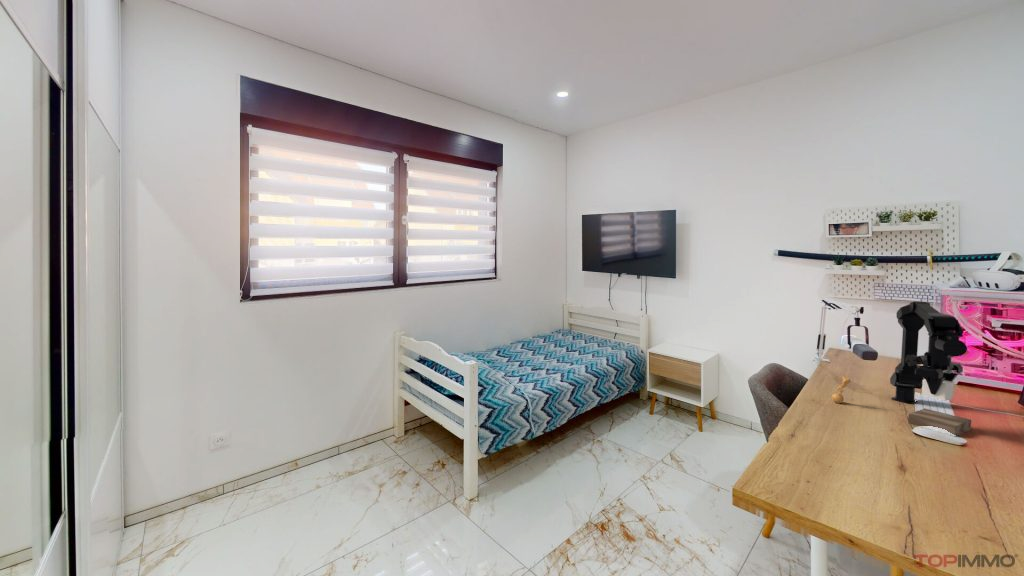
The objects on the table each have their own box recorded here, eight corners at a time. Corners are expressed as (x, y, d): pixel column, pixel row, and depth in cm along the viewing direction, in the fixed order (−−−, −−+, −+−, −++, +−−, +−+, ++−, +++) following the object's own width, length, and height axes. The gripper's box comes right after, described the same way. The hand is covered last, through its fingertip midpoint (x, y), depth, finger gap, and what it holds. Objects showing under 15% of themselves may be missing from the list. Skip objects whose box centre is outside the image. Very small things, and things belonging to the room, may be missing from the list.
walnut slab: (924, 418, 149) (924, 408, 149) (970, 430, 138) (971, 419, 138) (908, 424, 144) (908, 413, 144) (954, 437, 133) (955, 426, 133)
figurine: (835, 399, 170) (836, 372, 169) (853, 403, 164) (854, 375, 164) (827, 403, 165) (828, 375, 164) (845, 407, 160) (846, 379, 159)
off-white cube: (930, 393, 145) (930, 377, 145) (953, 398, 139) (954, 381, 139) (921, 395, 143) (922, 379, 142) (944, 400, 137) (945, 384, 137)
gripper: (922, 343, 151) (920, 383, 152) (896, 348, 144) (894, 390, 145) (964, 349, 141) (962, 391, 142) (938, 354, 134) (936, 399, 135)
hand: (937, 392), depth 141 cm, fingers closed on off-white cube, 6 cm apart
